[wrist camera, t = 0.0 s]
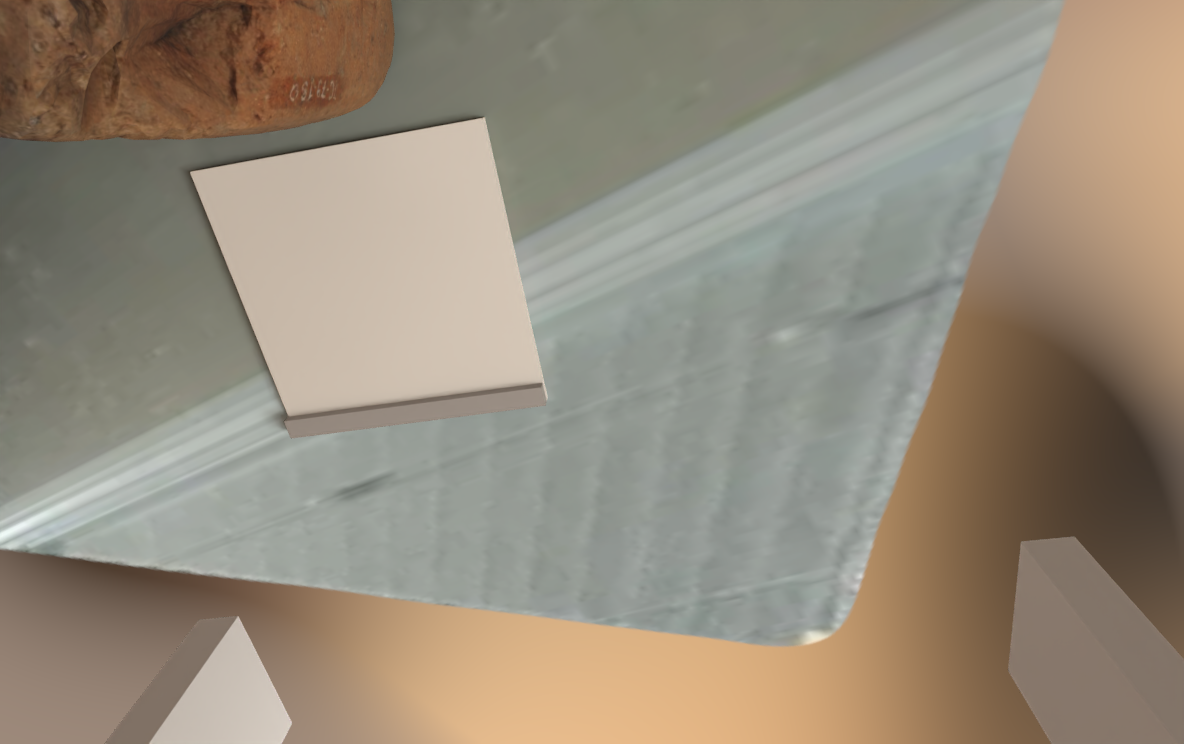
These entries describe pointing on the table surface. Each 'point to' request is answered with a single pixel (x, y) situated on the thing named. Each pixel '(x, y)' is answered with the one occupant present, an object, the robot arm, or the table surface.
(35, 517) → the table surface
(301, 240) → the mat
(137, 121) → the raisin bread loaf
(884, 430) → the table surface
